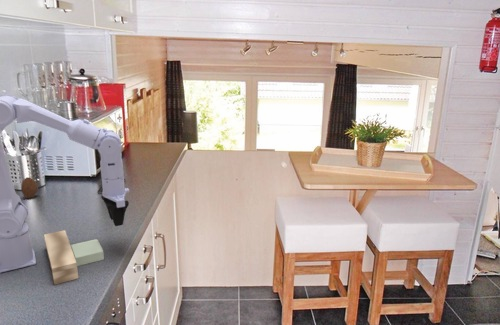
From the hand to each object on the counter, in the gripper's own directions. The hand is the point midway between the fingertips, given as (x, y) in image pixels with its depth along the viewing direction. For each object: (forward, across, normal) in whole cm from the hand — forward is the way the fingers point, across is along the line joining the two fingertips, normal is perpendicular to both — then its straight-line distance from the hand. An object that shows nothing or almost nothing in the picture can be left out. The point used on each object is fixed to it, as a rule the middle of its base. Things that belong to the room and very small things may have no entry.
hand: (116, 221), depth 111 cm
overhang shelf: (+8, 0, +15) cm, 17 cm away
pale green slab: (+8, 0, +8) cm, 12 cm away
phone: (+9, +51, -10) cm, 53 cm away
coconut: (+9, +54, +19) cm, 58 cm away
